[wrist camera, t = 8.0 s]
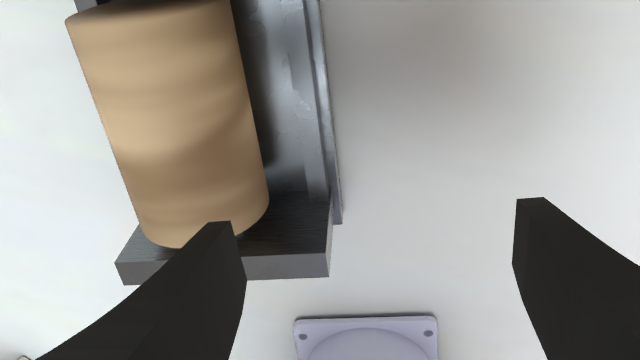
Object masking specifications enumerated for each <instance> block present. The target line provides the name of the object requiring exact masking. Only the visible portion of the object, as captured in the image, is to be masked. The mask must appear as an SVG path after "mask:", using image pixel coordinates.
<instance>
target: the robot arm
mask: <svg viewBox="0 0 640 360" xmlns="http://www.w3.org/2000/svg"><path fill="white" fill-rule="evenodd" d="M512 266H513V270H514V274H515V277H516V281H517V285H518V288H519V291H520V295H521V298H522V301H523V304H524V306H525V308H526V311H527V313H528V315H529V318H530V320H531V322H532V325H533V327H534V329H535V332H536V334H537V336H538V338H539V341H540V343H541V345H542V348H543V350H544V352H545V354H546V357H547V359H548V360H640V266H638V265H637V264H635V263H634V262H632V261H630V260H629V259H627V258H626V257H624V256H623V255H621V254H620V253H618V252H617V251H615V250H614V249H612V248H611V247H609V246H608V245H607V244H605V243H604V242H602V241H601V240H600V239H598V238H597V237H595V236H594V235H593V234H591V233H590V232H589V231H587V230H586V229H585V228H583V227H582V226H581V225H579V224H578V223H577V222H575V221H574V220H573V219H571V218H570V217H569V216H567V215H566V214H565V213H564V212H562V211H561V210H560V209H558V208H557V207H556V206H555V205H553V204H552V203H551V202H549V201H548V200H547V199H545V198H544V197H538V198H525V199H517V203H516V217H515V230H514V243H513V257H512ZM246 284H247V277H246V274H245V270H244V267H243V263H242V259H241V256H240V252H239V249H238V245H237V242H236V238H235V235H234V231H233V227H232V224H231V220H229V221H216V222H208V223H207V224H206V225H204V226H203V227H202V228H201V229H200V230H199V231H198V232H197V233H196V234H195V235H194V236H193V237H192V238H191V239H190V240H189V241H188V242H187V243H186V244H185V245H184V246H183V247H182V248H181V249H180V250H179V251H177V252H176V253H175V254H174V255H173V256H172V257H171V258H170V259H169V260H168V261H167V262H166V263H165V264H164V265H163V266H162V267H161V268H160V269H159V270H158V271H157V272H155V273H154V274H153V275H152V276H151V277H150V278H149V279H147V280H146V281H145V282H144V283H143V284H142V285H141V286H139V287H138V288H137V289H136V290H135V291H134V292H133V293H132V294H130V295H129V296H128V297H127V298H126V299H124V300H123V301H122V302H121V303H119V304H118V305H117V306H116V307H114V308H113V309H112V310H110V311H109V312H108V313H106V314H105V315H103V316H102V317H101V318H99V319H98V320H97V321H95V322H94V323H93V324H91V325H90V326H88V327H87V328H85V329H84V330H82V331H81V332H79V333H77V334H76V335H74V336H73V337H71V338H70V339H68V340H67V341H65V342H64V343H62V344H60V345H59V346H57V347H56V348H54V349H53V350H51V351H49V352H48V353H46V354H44V355H42V356H41V357H39V358H37V359H35V360H228V359H229V356H230V353H231V349H232V346H233V343H234V339H235V336H236V333H237V329H238V326H239V322H240V319H241V315H242V310H243V304H244V298H245V291H246ZM426 330H430V331H426ZM437 331H438V326H437V321H436V319H435V318H434V317H432V316H403V317H370V318H337V319H304V320H297V321H296V322H295V323H294V326H293V333H294V337H295V342H296V347H297V352H298V357H299V360H437ZM303 334H305V335H303Z"/></svg>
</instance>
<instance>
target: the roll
mask: <svg viewBox="0 0 640 360" xmlns="http://www.w3.org/2000/svg"><path fill="white" fill-rule="evenodd" d="M65 25H66V28H67V31H68V33H69V36H70V39H71V41H72V44H73V47H74V49H75V52H76V55H77V57H78V60H79V63H80V65H81V68H82V71H83V73H84V76H85V79H86V81H87V84H88V87H89V89H90V92H91V95H92V97H93V100H94V103H95V105H96V108H97V111H98V114H99V116H100V119H101V122H102V124H103V127H104V130H105V132H106V135H107V138H108V140H109V143H110V146H111V148H112V151H113V154H114V156H115V159H116V162H117V164H118V167H119V170H120V172H121V175H122V178H123V180H124V183H125V186H126V188H127V191H128V194H129V196H130V199H131V202H132V205H133V207H134V210H135V213H136V215H137V218H138V221H139V223H140V226H141V229H142V231H143V233H144V235H145V236H146V237H147V238H148V239H149V240H150V241H152V242H153V243H156V244H158V245H161V246H165V247H170V248H182V247H183V246H184V245H185V244H186V243H187V242H188V241H189V240H190V239H191V238H192V237H193V236H194V235H195V234H196V233H197V232H198V231H199V230H200V229H201V228H202V227H203V226H204V225H206V224H207V223H208V222H216V221H229V220H231V224H232V227H233V231H234V235H235V236H236V235H238V234H240V233H241V232H243V231H245V230H246V229H248V228H249V227H251V226H252V225H253V224H254V223H256V222H257V221H258V220H259V219H260V218H261V217H262V215H263V214H264V213H265V211H266V209H267V207H268V204H269V193H268V188H267V183H266V178H265V173H264V168H263V163H262V158H261V153H260V148H259V143H258V138H257V133H256V128H255V123H254V119H253V114H252V109H251V104H250V99H249V94H248V89H247V84H246V79H245V74H244V69H243V64H242V59H241V54H240V49H239V44H238V40H237V35H236V30H235V25H234V20H233V15H232V10H231V5H230V0H116V1H112V2H109V3H105V4H101V5H98V6H95V7H91V8H88V9H86V10H83V11H80V12H78V13H76V14H74V15H72V16H70V17H68V18H67V19H66V20H65Z"/></svg>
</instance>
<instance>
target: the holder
mask: <svg viewBox="0 0 640 360" xmlns="http://www.w3.org/2000/svg"><path fill="white" fill-rule="evenodd" d="M112 1H116V0H74V2H75V5H76V8H77V10H78V12H80V11H83V10H86V9H88V8H91V7H95V6H98V5H101V4H105V3H109V2H112ZM230 5H231V10H232V15H233V20H234V25H235V30H236V35H237V40H238V44H239V49H240V54H241V59H242V64H243V69H244V74H245V79H246V84H247V89H248V94H249V99H250V104H251V109H252V114H253V119H254V123H255V128H256V133H257V138H258V143H259V148H260V153H261V158H262V163H263V168H264V173H265V178H266V183H267V188H268V193H269V204H268V207H267V209H266V211H265V213H264V214H263V215H262V217H261V218H260V219H259V220H258V221H257V222H256V223H254V224H253V225H252V226H251V227H249V228H248V229H246V230H245V231H243V232H241V233H240V234H238V235H236V236H235V238H236V242H237V245H238V249H239V252H240V256H241V259H242V263H243V267H244V270H245V274H246V277H247V280H270V279H295V278H320V277H329V270H330V258H331V245H332V232H333V225H339V224H342V219H343V209H342V200H341V191H340V182H339V173H338V164H337V155H336V147H335V138H334V129H333V120H332V111H331V102H330V93H329V84H328V75H327V67H326V58H325V49H324V40H323V31H322V22H321V13H320V4H319V0H230ZM180 249H181V248H170V247H165V246H161V245H158V244H156V243H153V242H152V241H150V240H149V239H148V238H147V237H146V236H145V235H144V233H143V231H142V229H141V226H140V223H139V225H138V226H137V228H136V230H135V231H134V233H133V234H132V236H131V237H130V239H129V241H128V242H127V244H126V245H125V247H124V248H123V250H122V251H121V253H120V255H119V256H118V258H117V259H116V261H115V262H114V263H115V266H116V268H117V270H118V273H119V275H120V277H121V280H122V282H123V284H124V285H142V284H143V283H144V282H145V281H146V280H147V279H149V278H150V277H151V276H152V275H153V274H154V273H155V272H157V271H158V270H159V269H160V268H161V267H162V266H163V265H164V264H165V263H166V262H167V261H168V260H169V259H170V258H171V257H172V256H173V255H174V254H175V253H176V252H177V251H179V250H180Z"/></svg>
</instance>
